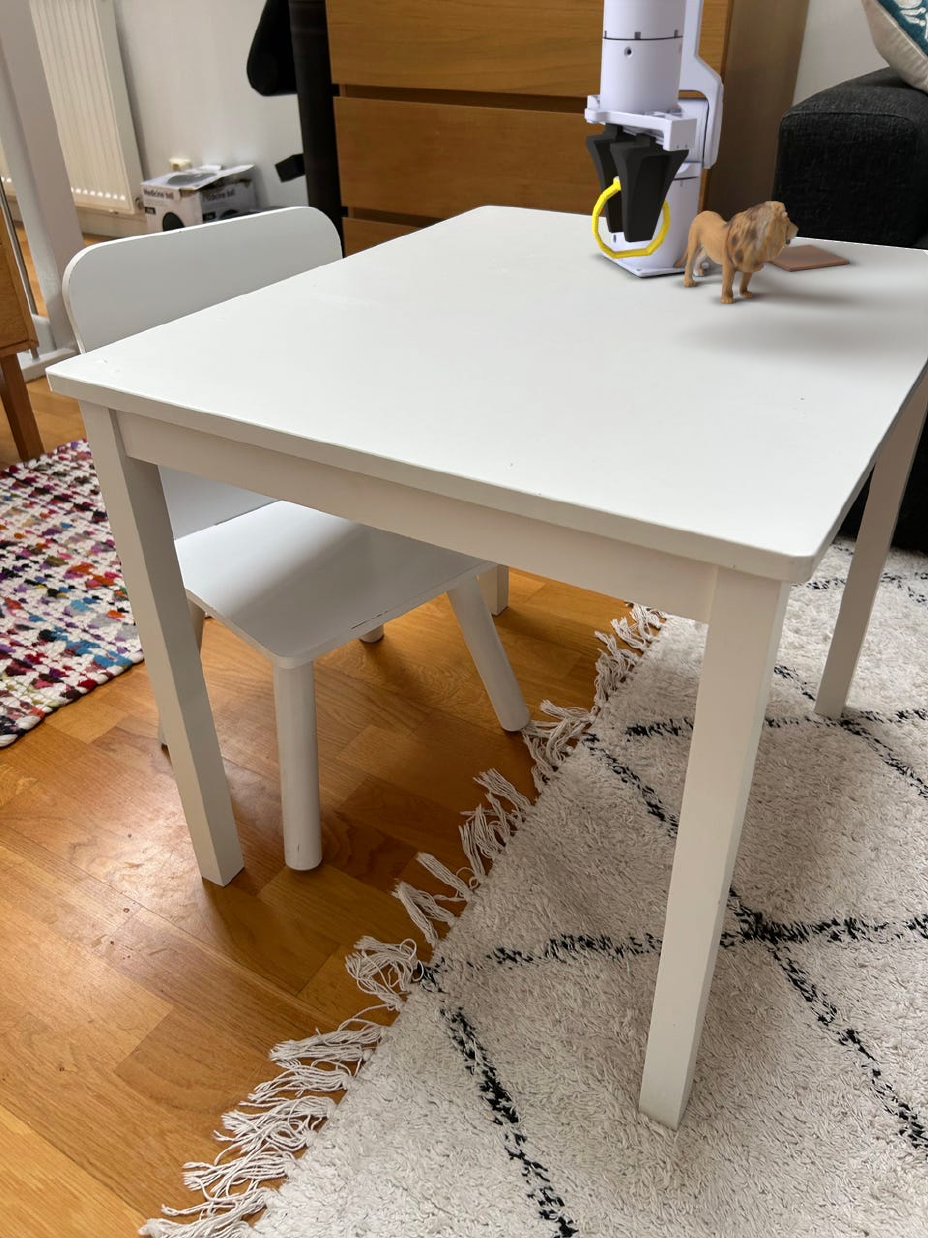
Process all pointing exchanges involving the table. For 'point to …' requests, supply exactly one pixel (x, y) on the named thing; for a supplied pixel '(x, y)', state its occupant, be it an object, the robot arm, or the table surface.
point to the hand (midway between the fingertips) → (629, 235)
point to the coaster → (806, 258)
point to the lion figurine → (737, 244)
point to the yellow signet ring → (633, 252)
